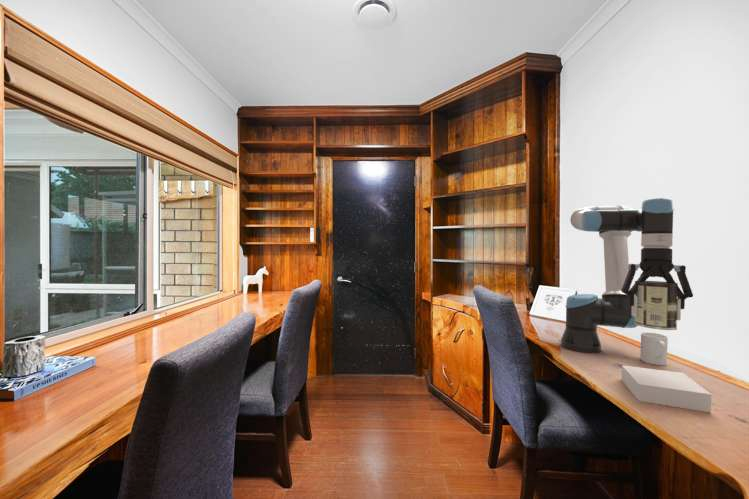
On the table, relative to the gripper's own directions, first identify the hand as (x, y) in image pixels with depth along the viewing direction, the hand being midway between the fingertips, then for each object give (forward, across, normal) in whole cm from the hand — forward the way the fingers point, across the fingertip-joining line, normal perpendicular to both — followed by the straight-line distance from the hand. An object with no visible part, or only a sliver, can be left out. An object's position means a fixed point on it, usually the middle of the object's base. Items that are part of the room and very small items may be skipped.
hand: (655, 317), depth 103 cm
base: (+23, +1, -4) cm, 23 cm away
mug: (+22, +10, +28) cm, 37 cm away
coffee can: (+3, 0, 0) cm, 3 cm away
